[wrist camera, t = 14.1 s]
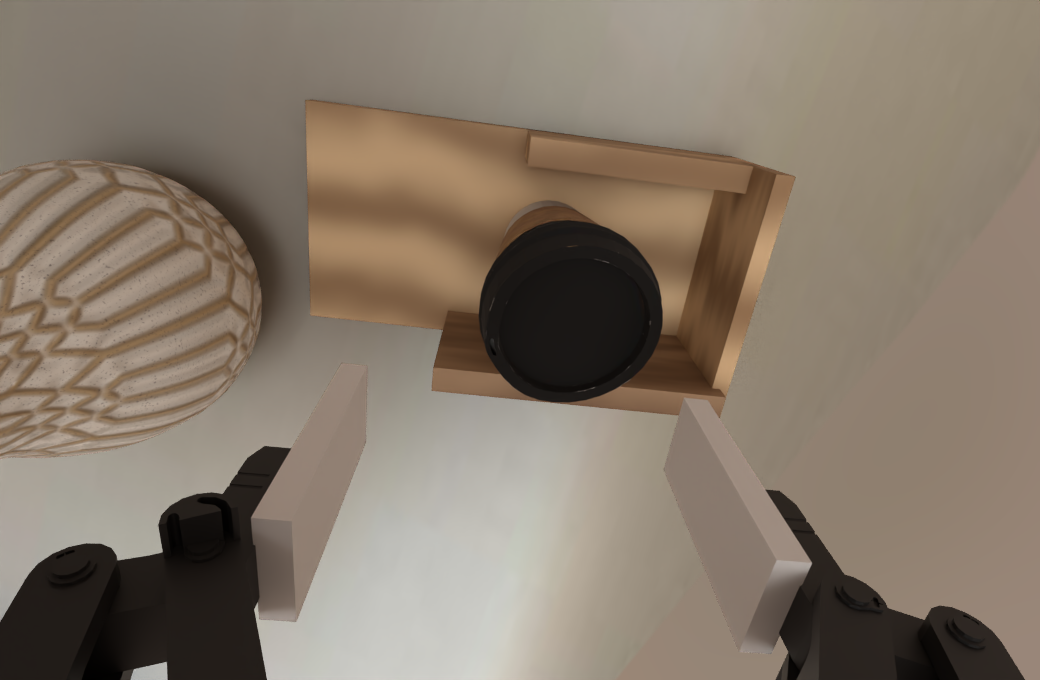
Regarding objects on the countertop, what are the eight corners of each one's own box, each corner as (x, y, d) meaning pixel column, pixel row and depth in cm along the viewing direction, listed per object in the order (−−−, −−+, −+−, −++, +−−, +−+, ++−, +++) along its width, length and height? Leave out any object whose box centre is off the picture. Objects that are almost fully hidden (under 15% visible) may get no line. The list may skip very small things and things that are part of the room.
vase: (323, 213, 38) (155, 331, 20) (258, 400, 44) (82, 624, 26) (72, 100, 35) (-400, 117, 17) (37, 317, 41) (-342, 506, 22)
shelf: (311, 99, 35) (243, 104, 26) (731, 156, 37) (805, 179, 28) (315, 309, 41) (261, 373, 32) (680, 348, 43) (727, 420, 34)
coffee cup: (471, 193, 37) (456, 256, 23) (601, 168, 36) (665, 216, 22) (497, 313, 40) (498, 431, 26) (616, 291, 40) (680, 398, 26)
